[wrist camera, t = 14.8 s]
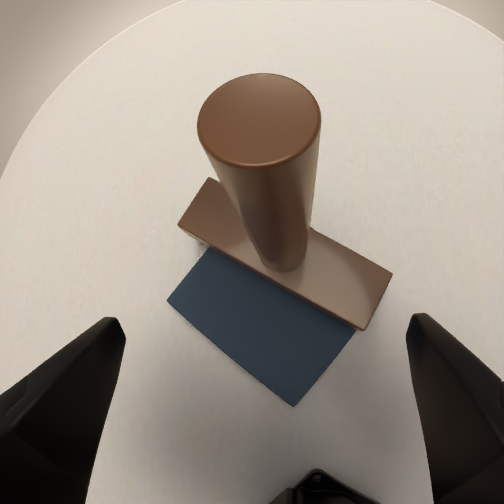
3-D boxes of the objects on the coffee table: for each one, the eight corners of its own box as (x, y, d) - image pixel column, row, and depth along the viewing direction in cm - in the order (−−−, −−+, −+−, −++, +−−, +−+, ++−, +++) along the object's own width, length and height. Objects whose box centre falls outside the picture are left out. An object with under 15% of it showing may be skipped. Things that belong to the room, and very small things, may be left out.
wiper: (352, 331, 17) (486, 333, 4) (194, 240, 20) (53, 110, 7) (377, 282, 17) (523, 186, 4) (221, 198, 20) (125, 31, 7)
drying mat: (386, 285, 18) (388, 285, 17) (293, 406, 17) (293, 407, 16) (257, 191, 20) (257, 189, 20) (167, 301, 19) (165, 300, 19)
